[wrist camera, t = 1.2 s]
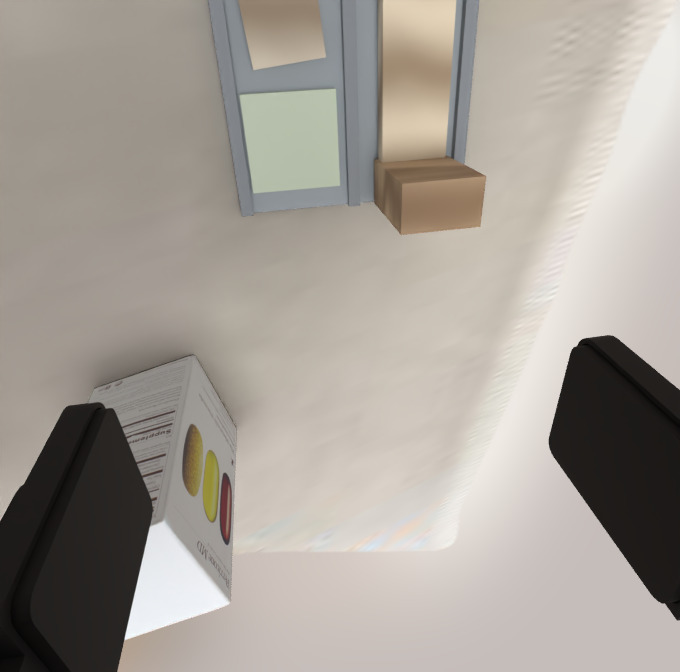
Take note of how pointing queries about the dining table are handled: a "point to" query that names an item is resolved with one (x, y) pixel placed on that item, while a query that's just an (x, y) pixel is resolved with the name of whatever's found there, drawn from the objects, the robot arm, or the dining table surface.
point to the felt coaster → (291, 139)
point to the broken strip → (282, 31)
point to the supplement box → (179, 489)
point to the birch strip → (419, 122)
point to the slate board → (351, 95)
